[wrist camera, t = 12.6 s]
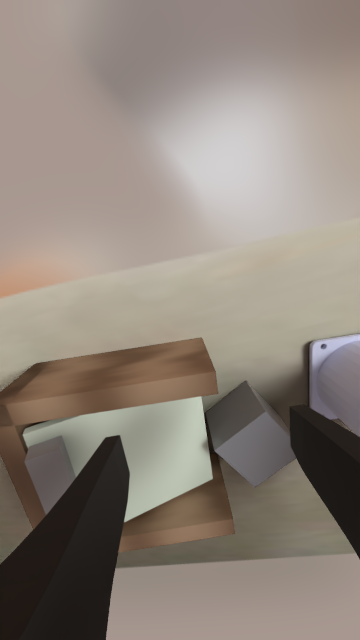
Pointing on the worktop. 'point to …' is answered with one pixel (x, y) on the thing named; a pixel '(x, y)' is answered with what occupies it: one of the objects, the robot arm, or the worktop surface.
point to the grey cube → (249, 434)
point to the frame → (112, 394)
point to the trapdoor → (139, 446)
